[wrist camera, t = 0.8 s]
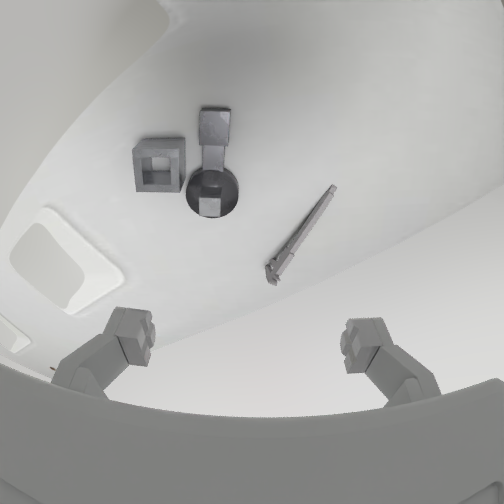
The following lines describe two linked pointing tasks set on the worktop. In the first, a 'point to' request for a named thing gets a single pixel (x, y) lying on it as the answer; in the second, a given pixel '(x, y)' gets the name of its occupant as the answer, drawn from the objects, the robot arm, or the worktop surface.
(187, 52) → the worktop surface
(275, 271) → the caliper
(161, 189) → the grey metal block
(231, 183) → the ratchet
